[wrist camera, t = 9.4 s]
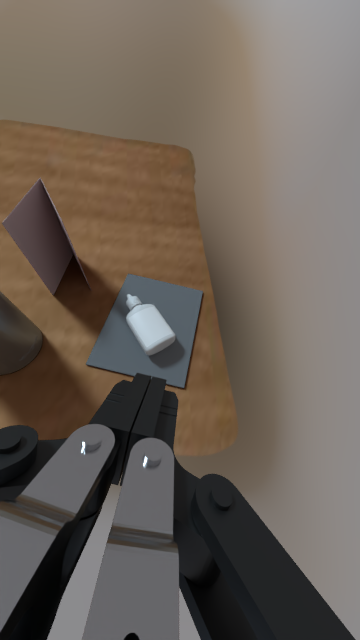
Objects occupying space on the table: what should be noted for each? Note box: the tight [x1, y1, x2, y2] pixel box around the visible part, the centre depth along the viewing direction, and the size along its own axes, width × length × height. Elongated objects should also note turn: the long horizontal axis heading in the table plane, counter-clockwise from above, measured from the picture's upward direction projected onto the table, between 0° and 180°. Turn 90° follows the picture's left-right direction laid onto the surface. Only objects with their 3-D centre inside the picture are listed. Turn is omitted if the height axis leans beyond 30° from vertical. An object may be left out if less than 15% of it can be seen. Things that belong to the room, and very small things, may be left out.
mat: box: [86, 274, 203, 388], centre depth 37 cm, size 16×20×1 cm
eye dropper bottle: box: [126, 294, 176, 355], centre depth 35 cm, size 4×6×12 cm
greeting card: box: [2, 178, 91, 295], centre depth 35 cm, size 11×7×15 cm, turn 176°
